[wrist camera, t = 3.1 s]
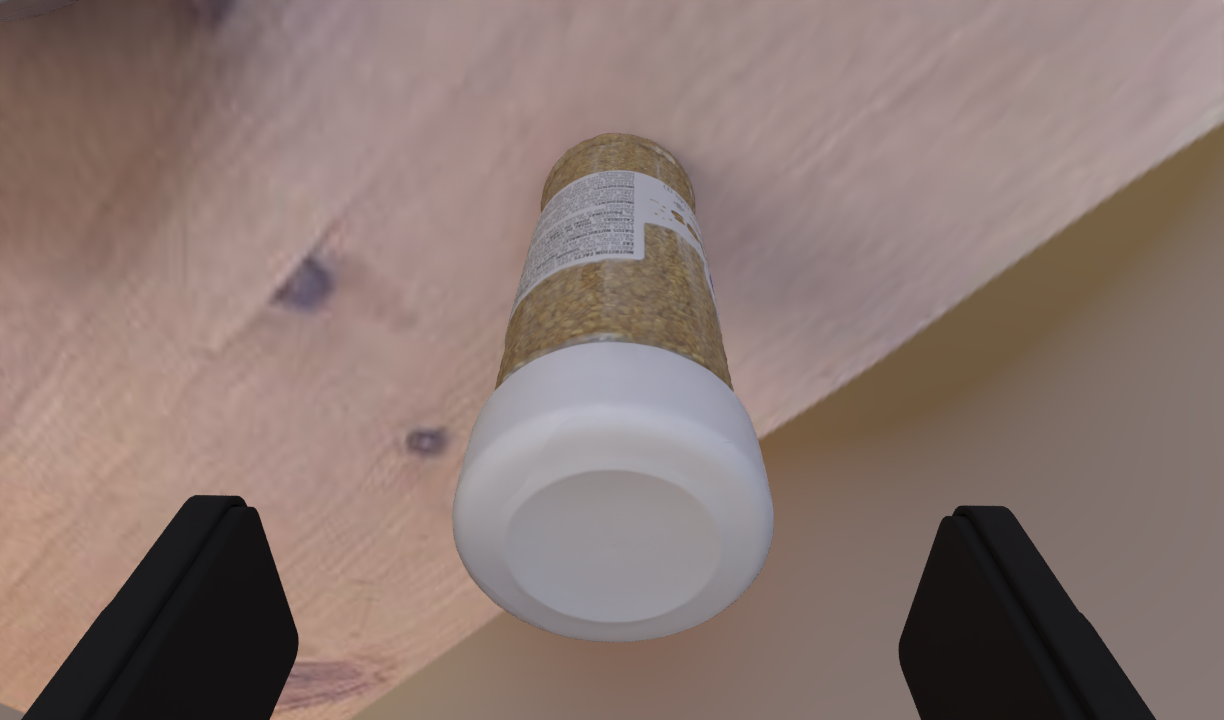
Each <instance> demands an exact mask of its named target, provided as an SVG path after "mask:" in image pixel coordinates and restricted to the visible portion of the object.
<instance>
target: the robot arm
mask: <svg viewBox="0 0 1224 720" xmlns="http://www.w3.org/2000/svg"><path fill="white" fill-rule="evenodd" d="M298 644H299V642H298V632H297V629H296V626H295V623H294V620H293V617H292V614H291V611H290V608H289V605H288V602H287V599H286V596H285V593H284V590H283V587H282V584H281V581H280V578H279V574H278V571H277V568H276V565H275V562H274V559H273V556H272V553H271V550H270V547H269V544H268V541H267V538H266V535H265V532H264V529H263V526H262V523H261V520H260V517H259V514H258V512H257V510H256V509H255V508H254V507H247V505H246V503H245V501H244V499H243V498H241V497H240V496H217V495H195V496H193V497H190V498H189V499H188V500H187V501H186V502H185V503H184V504H183V506H182V507H181V508H180V510H179V511H178V513H177V514H176V515H175V517H174V518H173V519H172V521H171V522H170V523H169V525H168V526H167V527H166V529H165V530H164V531H163V533H162V534H161V535H160V537H159V538H158V540H157V541H156V542H155V544H154V545H153V546H152V548H151V549H150V550H149V552H148V553H147V554H146V556H145V557H144V558H143V560H142V561H141V562H140V564H139V565H138V566H137V568H136V569H135V571H134V572H133V573H132V575H131V576H130V577H129V579H128V580H127V581H126V583H125V584H124V585H123V587H122V588H121V589H120V591H119V592H118V593H117V595H116V596H115V597H114V599H113V600H112V601H111V602H110V603H109V605H108V606H107V607H106V608H105V609H104V610H103V611H102V612H101V613H100V615H99V616H98V617H97V619H96V620H95V621H94V623H93V624H92V625H91V627H90V628H89V629H88V631H87V632H86V633H85V635H84V636H83V637H82V639H81V640H80V641H79V643H78V644H77V645H76V647H75V648H74V650H73V651H72V652H71V654H70V655H69V656H68V658H67V659H66V660H65V662H64V663H63V664H62V666H61V667H60V668H59V670H58V671H57V672H56V674H55V675H54V676H53V678H52V679H51V680H50V682H49V683H48V684H47V686H46V687H45V688H44V690H43V691H42V692H41V694H40V695H39V697H38V698H37V699H36V701H35V702H34V703H33V705H32V706H31V707H30V709H29V710H28V711H27V713H26V714H25V715H24V717H23V718H22V719H21V720H270V717H271V715H272V713H273V711H274V708H275V706H276V704H277V701H278V699H279V697H280V694H281V692H282V690H283V687H284V685H285V683H286V681H287V678H288V676H289V674H290V671H291V669H292V667H293V664H294V662H295V659H296V656H297V651H298ZM899 660H900V665H901V668H902V671H903V674H904V676H905V679H906V682H907V684H908V687H909V689H910V692H911V695H912V697H913V700H914V702H915V705H916V708H917V710H918V713H919V716H920V718H921V720H1156V719H1155V717H1154V716H1153V714H1152V713H1151V711H1150V710H1149V708H1148V707H1147V705H1146V704H1145V702H1144V701H1143V700H1142V698H1141V697H1140V695H1139V694H1138V692H1137V691H1136V689H1135V688H1134V686H1133V685H1132V684H1131V682H1130V680H1129V679H1128V677H1127V676H1126V675H1125V673H1124V672H1123V670H1122V669H1121V667H1120V666H1119V664H1118V663H1117V661H1116V660H1115V658H1114V657H1113V655H1112V654H1111V652H1110V651H1109V649H1108V648H1107V646H1106V645H1105V644H1104V642H1103V641H1102V639H1101V638H1100V636H1099V635H1098V633H1097V632H1096V630H1095V629H1094V627H1093V626H1092V625H1091V623H1090V622H1089V621H1088V620H1087V619H1086V618H1085V616H1084V615H1083V614H1082V613H1080V612H1079V611H1078V609H1077V608H1076V606H1075V605H1074V604H1073V602H1072V601H1071V599H1070V598H1069V596H1068V595H1067V593H1066V592H1065V590H1064V589H1063V587H1062V586H1061V584H1060V583H1059V581H1058V580H1057V578H1056V577H1055V575H1054V574H1053V572H1052V571H1051V569H1050V568H1049V566H1048V565H1047V563H1046V562H1045V560H1044V559H1043V557H1042V556H1041V555H1040V553H1039V552H1038V550H1037V549H1036V547H1035V546H1034V544H1033V543H1032V541H1031V540H1030V538H1029V537H1028V535H1027V534H1026V533H1025V531H1024V529H1023V528H1022V526H1021V525H1020V523H1019V522H1018V520H1017V519H1016V517H1015V516H1014V515H1013V513H1012V512H1011V511H1010V510H1009V509H1008V508H1006V507H1004V506H959V507H957V509H955V511H954V513H953V515H952V516H945V517H944V518H943V519H942V521H941V523H940V525H939V528H938V531H937V534H936V537H935V540H934V543H933V546H932V549H931V551H930V555H929V557H928V560H927V563H926V566H925V569H924V572H923V575H922V578H921V581H920V583H919V586H918V589H917V592H916V595H915V598H914V601H913V603H912V606H911V609H910V612H909V615H908V618H907V621H906V624H905V626H904V630H903V632H902V635H901V638H900V642H899Z"/></svg>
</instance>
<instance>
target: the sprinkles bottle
mask: <svg viewBox="0 0 1224 720" xmlns="http://www.w3.org/2000/svg"><path fill="white" fill-rule="evenodd" d="M452 520H453V532H454V540H455V544H456V548H457V551H458V553H459V555H460V558H461V560H462V562H463V564H464V566H465V568H466V570H467V571H468V573H469V575H470V577H471V578H472V579H473V580H474V582H475V583H476V584H477V585H478V586H479V588H480V589H481V590H482V591H483V592H484V593H485V594H486V595H487V596H488V597H489V598H490V599H491V600H492V601H493V602H494V603H496V604H497V605H498V606H500V607H501V608H503V609H504V610H505V611H507V612H508V613H510V614H512V615H514V616H515V617H517V618H518V619H520V620H521V621H524V622H526V623H528V624H531V625H533V626H535V627H537V628H540V629H542V630H545V631H548V632H551V633H554V634H557V635H560V636H564V637H569V638H574V639H579V640H587V641H595V642H630V641H641V640H648V639H655V638H661V637H664V636H668V635H672V634H675V633H679V632H681V631H684V630H687V629H689V628H692V627H694V626H697V625H699V624H701V623H703V622H705V621H707V620H708V619H710V618H712V617H714V616H716V615H718V614H719V613H720V612H722V611H723V610H725V609H726V608H727V607H729V606H730V605H731V604H733V603H734V602H735V601H736V600H737V599H738V598H739V597H740V596H741V595H742V594H743V593H744V592H745V591H746V589H748V588H749V586H750V585H751V584H752V583H753V581H754V580H755V579H756V577H757V575H758V574H759V572H760V570H761V569H762V567H763V565H764V563H765V560H766V558H767V555H768V552H769V549H770V545H771V541H772V537H773V531H774V514H773V505H772V499H771V494H770V489H769V485H768V480H767V475H766V471H765V466H764V462H763V458H762V454H761V451H760V447H759V443H758V439H757V435H756V433H755V430H754V427H753V424H752V422H751V419H750V417H749V415H748V413H747V411H746V409H745V408H744V406H743V404H742V403H741V401H740V400H739V399H738V397H737V396H736V395H735V393H734V390H733V386H732V383H731V377H730V374H729V370H728V365H727V358H726V355H725V351H724V346H723V343H722V334H721V327H720V319H719V313H718V308H717V303H716V299H715V295H714V290H713V285H712V281H711V276H710V272H709V268H708V264H707V259H706V254H705V250H704V246H703V241H702V236H701V232H700V229H699V225H698V223H697V220H696V218H695V198H694V194H693V190H692V186H691V183H690V181H689V179H688V177H687V174H686V173H685V171H684V170H683V168H682V167H681V165H680V164H679V163H678V162H677V160H676V159H675V158H674V157H673V156H672V154H671V153H670V152H668V151H667V150H665V149H664V148H662V147H661V146H659V145H658V144H656V143H654V142H652V141H650V140H647V139H643V138H640V137H637V136H634V135H625V134H602V135H599V136H597V137H594V138H592V139H589V140H586V141H583V142H581V143H579V144H578V145H576V146H575V147H573V148H572V149H570V150H568V151H567V152H566V153H565V154H564V156H563V157H561V158H560V159H559V160H558V162H557V163H556V164H555V165H554V166H553V168H552V171H551V173H550V175H549V177H548V179H547V181H546V184H545V186H544V190H543V195H542V201H541V215H540V217H539V219H538V221H537V223H536V226H535V229H534V232H533V236H532V239H531V243H530V247H529V250H528V254H527V257H526V261H525V264H524V268H523V272H522V275H521V279H520V283H519V286H518V290H517V293H516V297H515V300H514V304H513V308H512V312H511V316H510V320H509V323H508V327H507V332H506V336H505V351H504V355H503V358H502V361H501V365H500V371H499V374H498V377H497V382H496V387H495V390H494V392H493V393H492V395H491V396H490V397H489V399H488V400H487V401H486V403H485V404H484V406H483V407H482V409H481V411H480V413H479V415H478V417H477V420H476V422H475V424H474V426H473V429H472V432H471V435H470V439H469V442H468V446H467V449H466V453H465V456H464V460H463V464H462V468H461V472H460V476H459V480H458V485H457V489H456V494H455V499H454V505H453V515H452Z"/></svg>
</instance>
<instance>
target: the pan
mask: <svg viewBox="0 0 1224 720" xmlns="http://www.w3.org/2000/svg"><path fill="white" fill-rule="evenodd" d="M75 1H78V0H0V23H4V22H10V21H15V20H20V19H25V18H30V17H35V16H40V15H42V14H45V13H47V12H50V11H52V10H55V9H58V8H60V7H63V6H65V5H68V4H70V3H73V2H75Z"/></svg>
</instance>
